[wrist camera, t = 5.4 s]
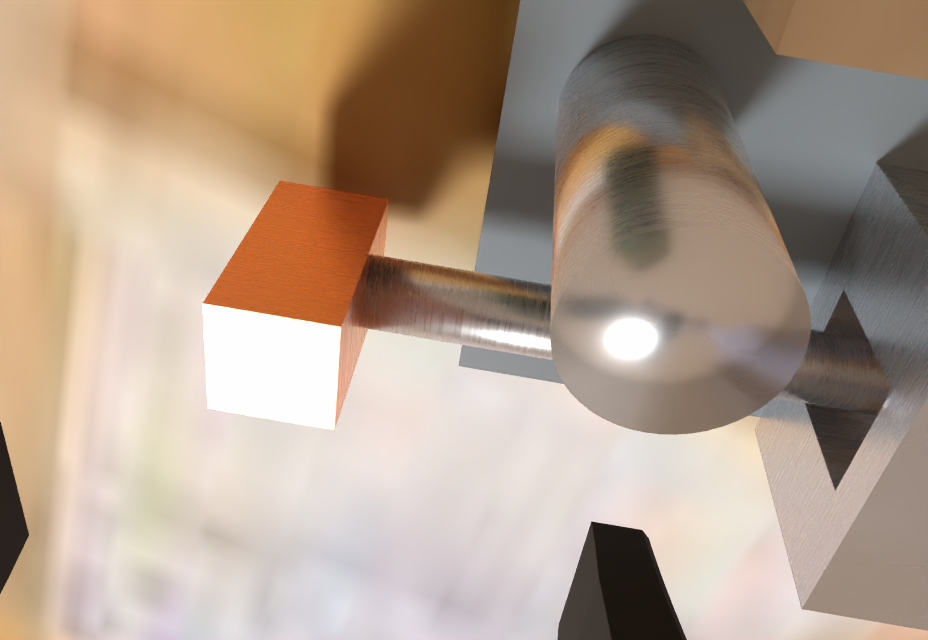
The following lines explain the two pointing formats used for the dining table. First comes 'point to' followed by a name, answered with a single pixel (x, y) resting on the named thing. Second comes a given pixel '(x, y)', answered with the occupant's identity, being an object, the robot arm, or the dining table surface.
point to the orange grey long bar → (400, 314)
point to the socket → (849, 32)
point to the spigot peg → (665, 248)
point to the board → (753, 111)
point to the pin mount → (864, 423)
